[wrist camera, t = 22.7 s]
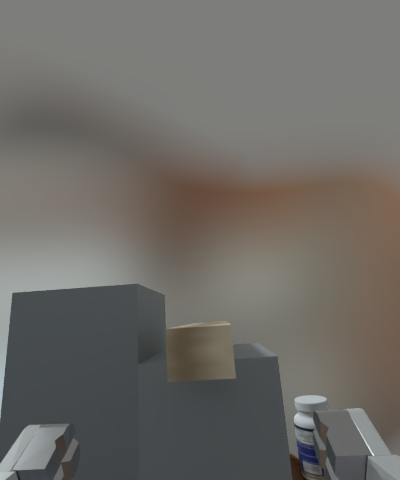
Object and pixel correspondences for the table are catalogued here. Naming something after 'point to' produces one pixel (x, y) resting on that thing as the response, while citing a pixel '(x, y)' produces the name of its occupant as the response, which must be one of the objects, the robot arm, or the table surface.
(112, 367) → the stepped shelf
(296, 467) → the table surface
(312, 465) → the pill bottle
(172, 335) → the wooden rod
